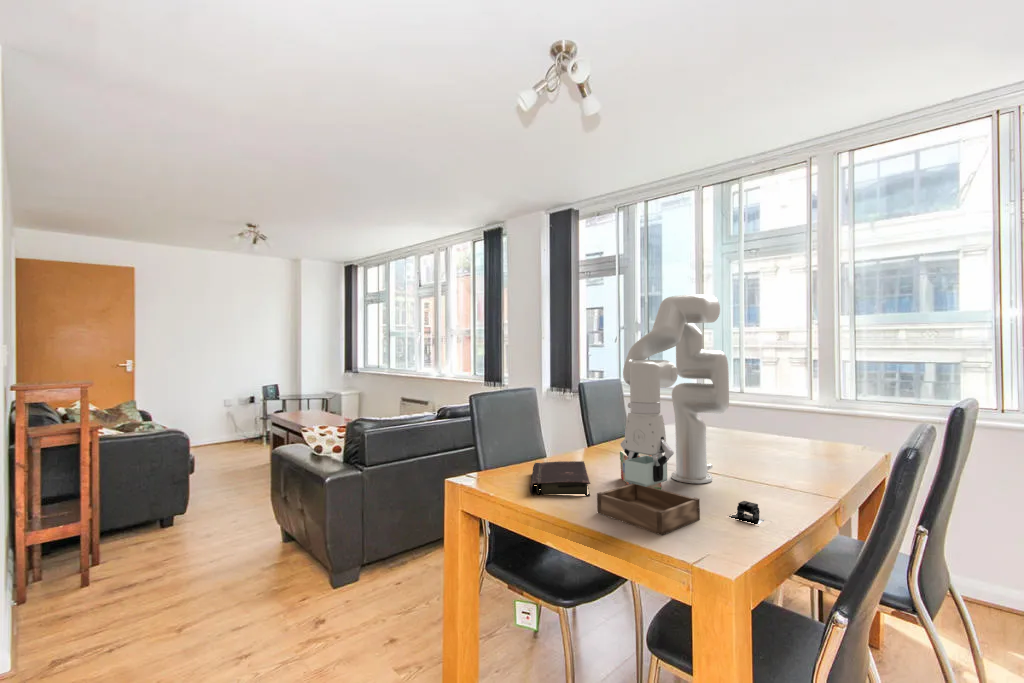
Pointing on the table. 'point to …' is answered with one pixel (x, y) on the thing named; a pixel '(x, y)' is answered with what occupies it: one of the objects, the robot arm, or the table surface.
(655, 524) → the big crate
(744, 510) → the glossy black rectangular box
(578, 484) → the diary
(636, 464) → the small crate
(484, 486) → the table surface
